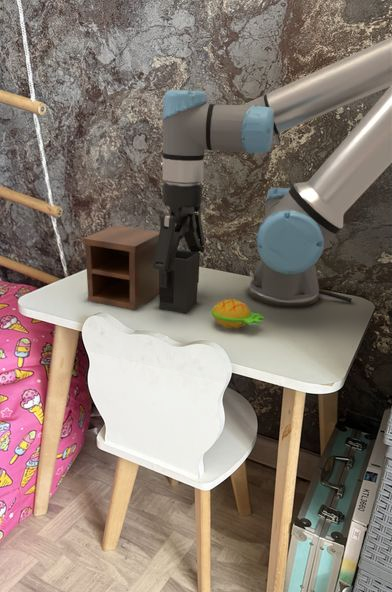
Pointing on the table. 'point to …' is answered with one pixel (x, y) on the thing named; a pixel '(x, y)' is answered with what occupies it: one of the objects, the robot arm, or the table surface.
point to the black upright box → (184, 282)
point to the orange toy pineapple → (234, 314)
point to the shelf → (122, 266)
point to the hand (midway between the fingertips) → (179, 291)
